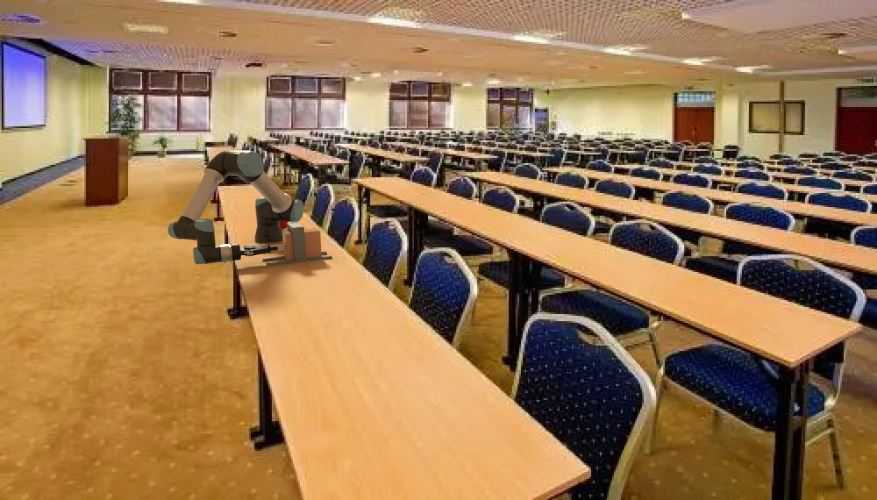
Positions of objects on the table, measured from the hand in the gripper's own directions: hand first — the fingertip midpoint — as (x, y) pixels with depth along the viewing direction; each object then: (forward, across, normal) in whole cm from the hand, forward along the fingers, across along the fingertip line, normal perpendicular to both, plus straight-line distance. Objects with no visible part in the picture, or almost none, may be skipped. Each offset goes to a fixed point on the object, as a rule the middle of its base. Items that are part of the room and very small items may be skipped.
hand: (284, 246), depth 281 cm
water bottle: (+13, -81, -7) cm, 83 cm away
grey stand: (+6, 0, -7) cm, 9 cm away
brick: (+8, -1, -6) cm, 10 cm away
